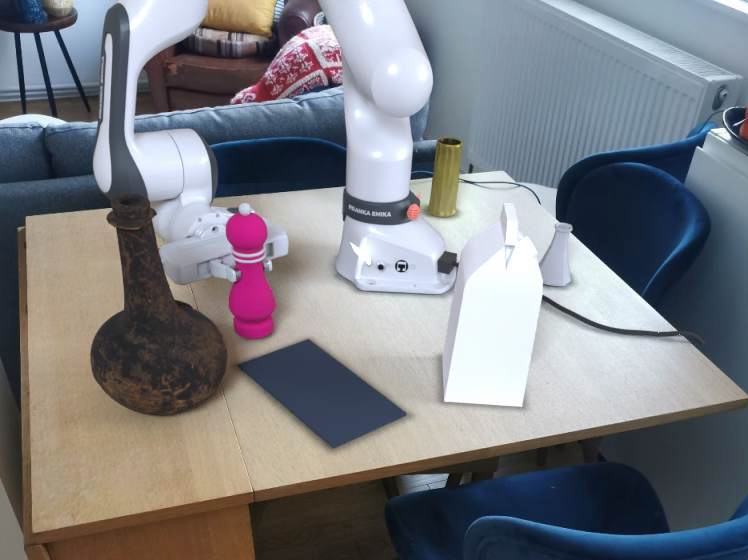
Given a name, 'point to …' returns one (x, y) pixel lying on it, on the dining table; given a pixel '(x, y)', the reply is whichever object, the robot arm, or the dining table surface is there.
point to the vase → (445, 177)
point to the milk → (493, 316)
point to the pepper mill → (250, 275)
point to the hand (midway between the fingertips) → (253, 271)
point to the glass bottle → (153, 328)
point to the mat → (322, 392)
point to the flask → (557, 258)
